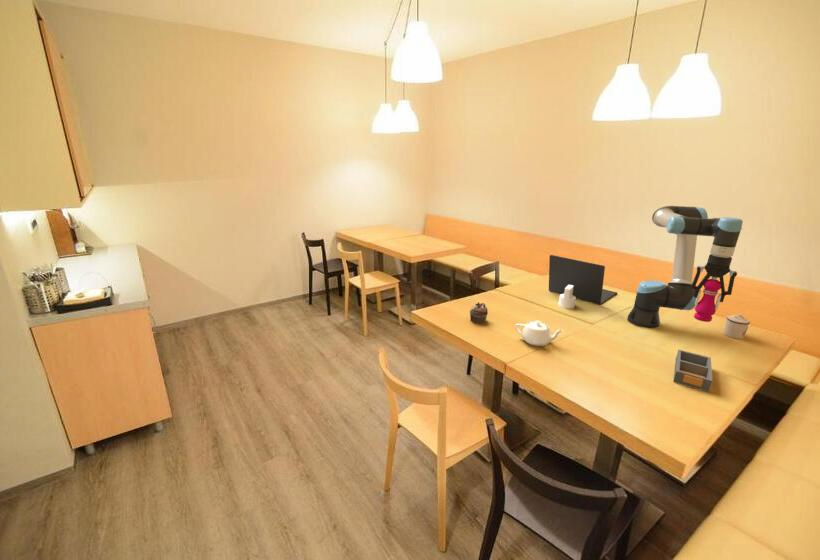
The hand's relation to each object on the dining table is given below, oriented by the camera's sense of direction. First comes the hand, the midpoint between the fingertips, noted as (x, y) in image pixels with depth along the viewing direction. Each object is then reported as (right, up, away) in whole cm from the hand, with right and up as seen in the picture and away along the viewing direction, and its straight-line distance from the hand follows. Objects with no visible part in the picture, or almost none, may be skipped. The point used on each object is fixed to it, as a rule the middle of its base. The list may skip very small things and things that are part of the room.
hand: (705, 306), depth 164 cm
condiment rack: (-12, -28, -7) cm, 31 cm away
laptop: (-17, +2, +84) cm, 85 cm away
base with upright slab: (-35, -4, +63) cm, 72 cm away
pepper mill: (0, -6, +2) cm, 6 cm away
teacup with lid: (+37, -17, +30) cm, 51 cm away
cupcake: (-92, -11, +41) cm, 101 cm away
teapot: (-67, -19, +18) cm, 72 cm away
